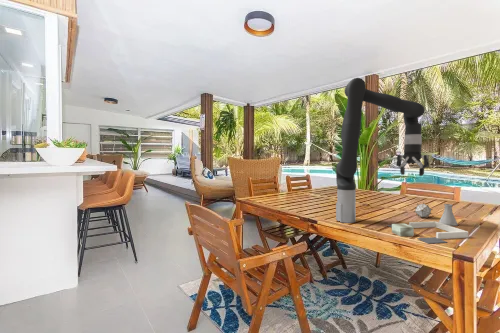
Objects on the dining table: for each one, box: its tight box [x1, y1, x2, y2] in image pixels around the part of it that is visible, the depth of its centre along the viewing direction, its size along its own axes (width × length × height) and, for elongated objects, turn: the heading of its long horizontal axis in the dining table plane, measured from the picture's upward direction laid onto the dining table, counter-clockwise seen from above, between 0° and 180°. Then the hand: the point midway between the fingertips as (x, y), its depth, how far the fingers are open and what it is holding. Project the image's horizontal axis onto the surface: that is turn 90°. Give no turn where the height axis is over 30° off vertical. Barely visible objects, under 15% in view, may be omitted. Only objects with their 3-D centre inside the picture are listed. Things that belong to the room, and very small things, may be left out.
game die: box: [413, 202, 433, 219], centre depth 139 cm, size 9×8×10 cm
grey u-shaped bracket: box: [408, 220, 469, 240], centre depth 113 cm, size 14×17×2 cm
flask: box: [438, 203, 459, 227], centre depth 125 cm, size 7×7×10 cm
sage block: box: [391, 223, 415, 237], centre depth 112 cm, size 6×6×4 cm
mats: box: [387, 224, 448, 245], centre depth 112 cm, size 8×26×1 cm, turn 4°
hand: (411, 175), depth 129 cm, fingers open, 8 cm apart
